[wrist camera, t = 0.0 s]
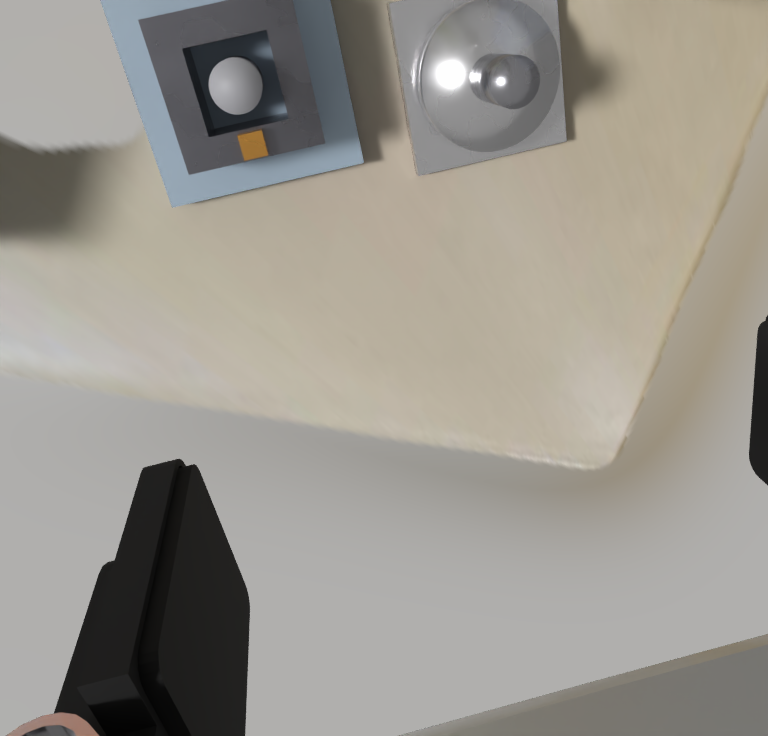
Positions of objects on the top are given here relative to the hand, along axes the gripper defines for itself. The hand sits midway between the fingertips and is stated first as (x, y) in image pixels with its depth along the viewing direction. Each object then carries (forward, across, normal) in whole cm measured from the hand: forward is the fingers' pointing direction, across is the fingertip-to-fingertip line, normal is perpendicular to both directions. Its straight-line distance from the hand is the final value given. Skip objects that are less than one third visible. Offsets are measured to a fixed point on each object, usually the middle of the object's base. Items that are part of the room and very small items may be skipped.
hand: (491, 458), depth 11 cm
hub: (+31, -9, -2) cm, 33 cm away
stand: (+31, +4, -5) cm, 32 cm away
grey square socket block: (+30, +4, -5) cm, 31 cm away
